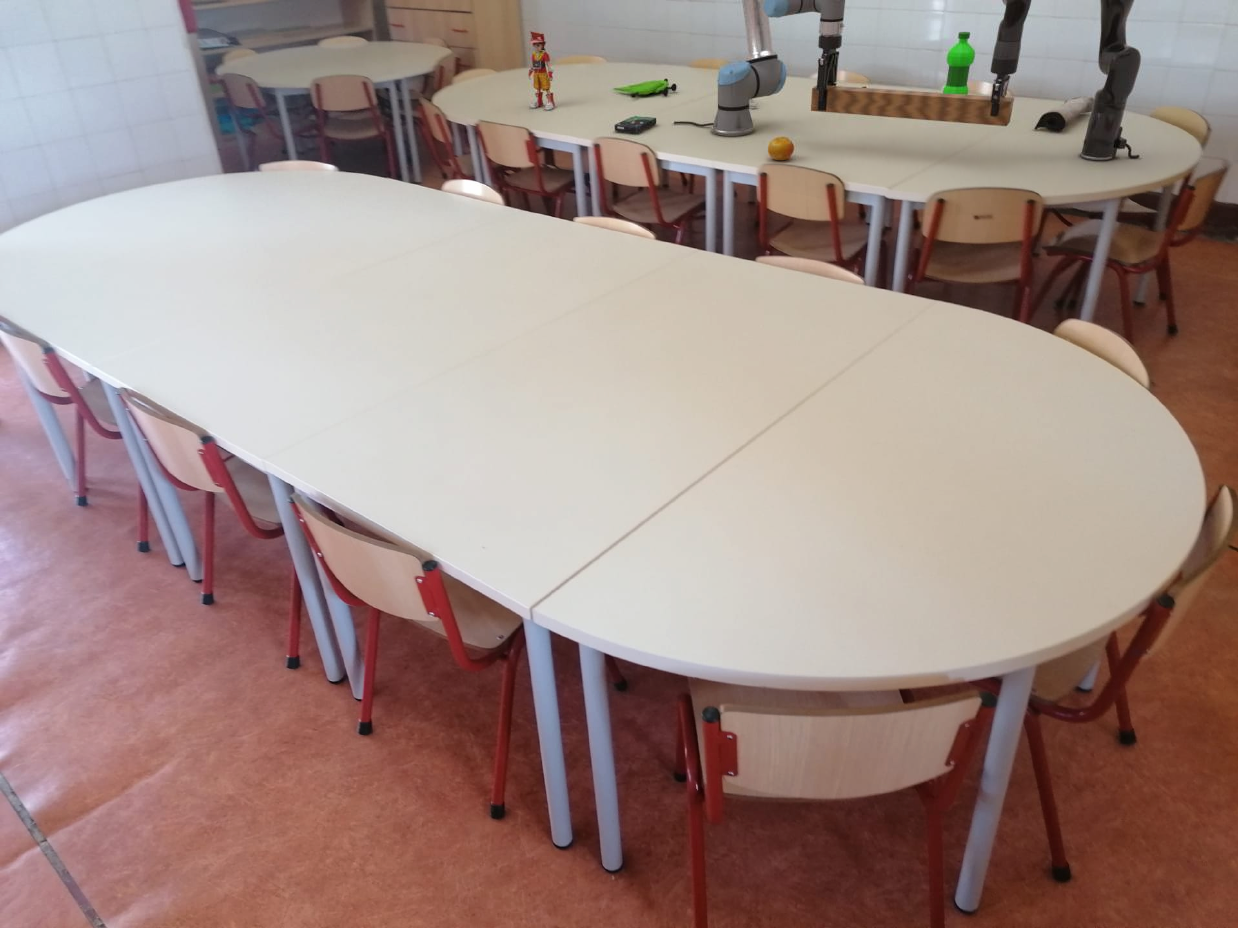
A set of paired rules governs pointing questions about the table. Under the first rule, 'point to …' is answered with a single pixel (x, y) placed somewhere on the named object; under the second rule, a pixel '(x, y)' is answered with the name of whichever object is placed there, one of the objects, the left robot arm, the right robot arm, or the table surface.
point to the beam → (914, 105)
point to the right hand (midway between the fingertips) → (995, 113)
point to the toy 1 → (541, 71)
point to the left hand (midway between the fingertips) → (824, 108)
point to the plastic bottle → (959, 65)
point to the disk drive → (635, 124)
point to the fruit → (780, 148)
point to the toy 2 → (648, 88)
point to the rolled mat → (1065, 114)
